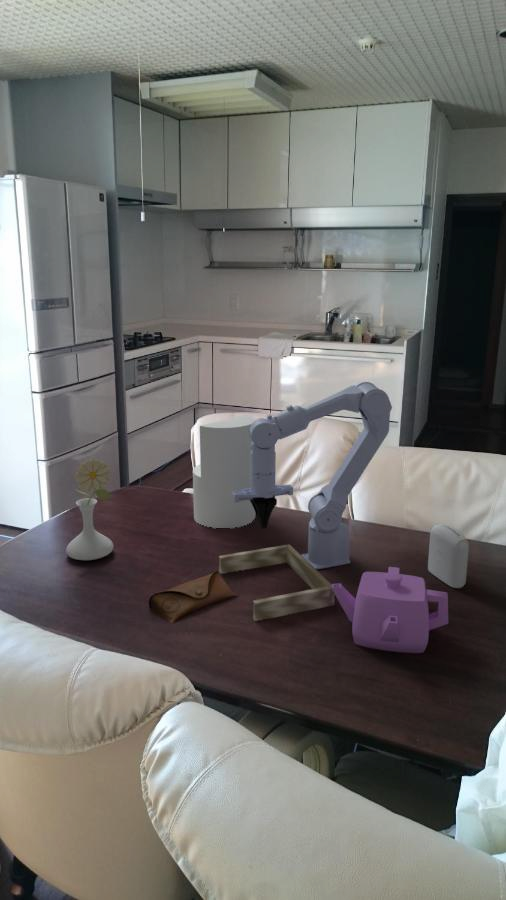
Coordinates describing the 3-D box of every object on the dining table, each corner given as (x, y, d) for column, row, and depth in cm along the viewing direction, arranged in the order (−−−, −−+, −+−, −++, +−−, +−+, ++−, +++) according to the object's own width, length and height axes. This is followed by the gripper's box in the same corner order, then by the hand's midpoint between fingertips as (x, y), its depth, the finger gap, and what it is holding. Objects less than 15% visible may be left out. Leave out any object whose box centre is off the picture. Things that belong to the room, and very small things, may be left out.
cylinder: (268, 516, 182) (268, 419, 174) (223, 534, 170) (222, 431, 162) (225, 501, 193) (224, 410, 185) (181, 517, 181) (178, 420, 173)
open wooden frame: (289, 559, 155) (289, 544, 154) (334, 605, 135) (334, 587, 133) (219, 571, 149) (219, 555, 148) (255, 621, 128) (255, 603, 127)
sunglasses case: (171, 624, 127) (160, 592, 128) (155, 628, 132) (145, 596, 133) (241, 594, 138) (230, 565, 139) (223, 599, 144) (213, 570, 145)
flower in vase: (56, 560, 155) (47, 461, 148) (85, 541, 165) (77, 448, 158) (102, 569, 150) (94, 467, 143) (128, 550, 160) (123, 454, 153)
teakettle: (453, 641, 122) (459, 582, 118) (388, 670, 113) (392, 608, 110) (389, 603, 136) (393, 549, 132) (326, 626, 127) (328, 569, 123)
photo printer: (424, 570, 150) (428, 520, 146) (440, 567, 151) (444, 518, 148) (451, 590, 141) (457, 538, 137) (468, 587, 142) (473, 535, 139)
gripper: (239, 480, 141) (239, 537, 145) (299, 473, 146) (298, 528, 150) (228, 471, 147) (229, 526, 151) (286, 464, 152) (285, 517, 156)
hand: (262, 526), depth 151 cm, fingers closed
